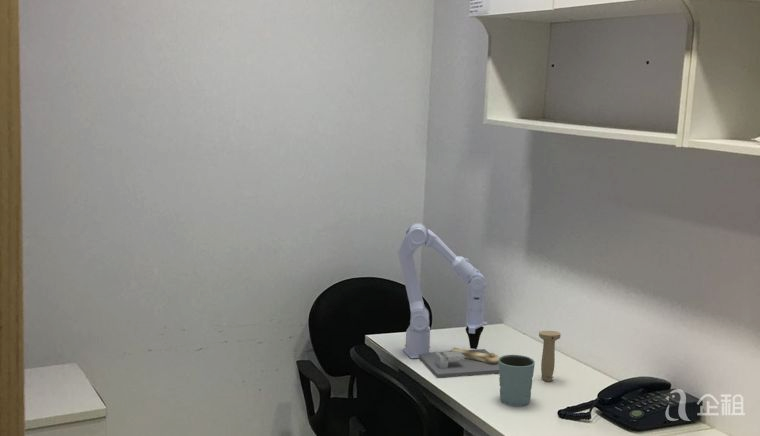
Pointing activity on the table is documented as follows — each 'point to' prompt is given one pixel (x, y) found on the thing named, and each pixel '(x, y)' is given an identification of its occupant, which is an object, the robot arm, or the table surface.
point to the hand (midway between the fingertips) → (473, 348)
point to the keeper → (447, 358)
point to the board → (460, 366)
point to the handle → (548, 353)
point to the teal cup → (515, 379)
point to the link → (478, 355)
